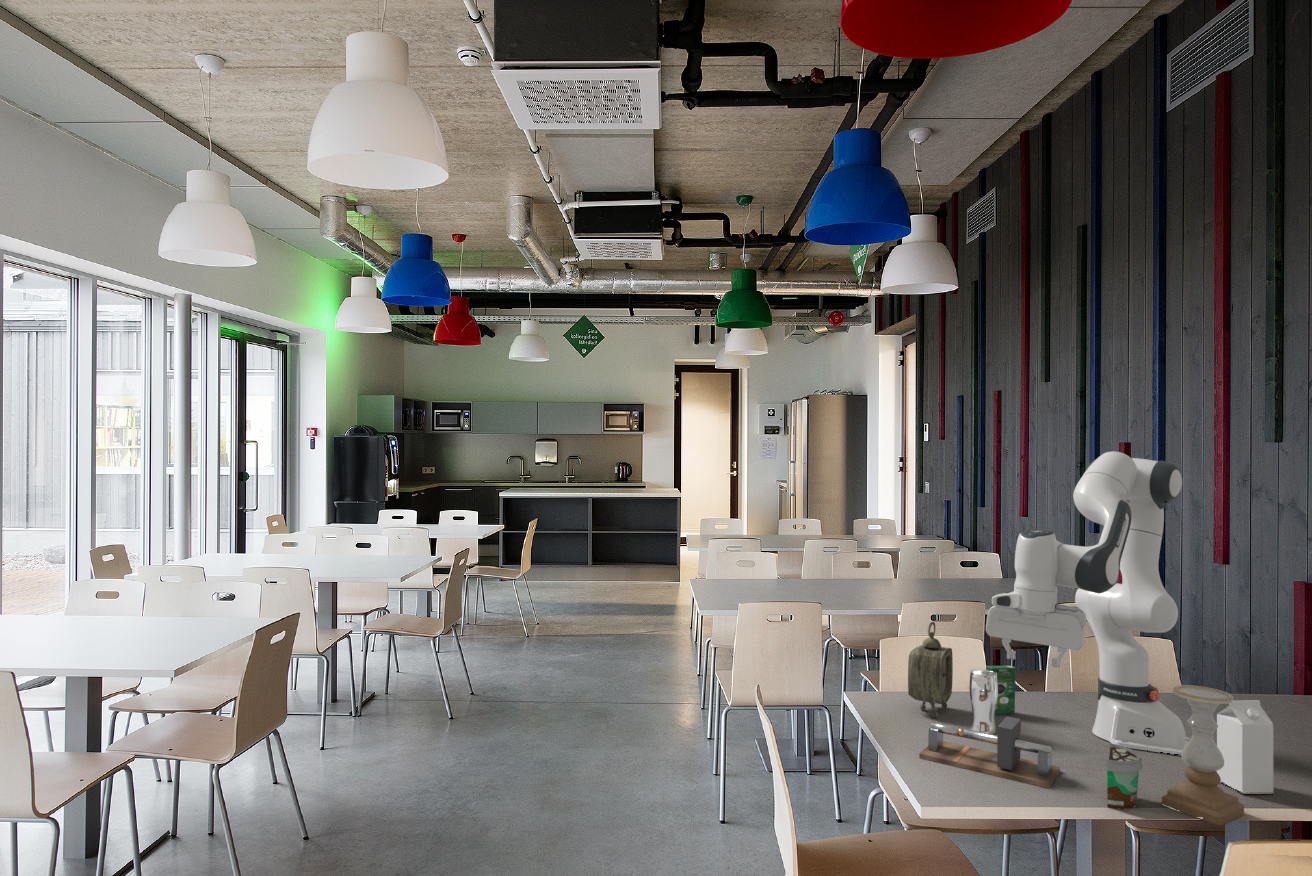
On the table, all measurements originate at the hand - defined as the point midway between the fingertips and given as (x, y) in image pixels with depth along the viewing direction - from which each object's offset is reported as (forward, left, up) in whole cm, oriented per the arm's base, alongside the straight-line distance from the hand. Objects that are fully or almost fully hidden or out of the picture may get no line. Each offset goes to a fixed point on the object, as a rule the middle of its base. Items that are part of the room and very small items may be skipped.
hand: (1033, 662), depth 181 cm
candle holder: (-32, -2, -25) cm, 40 cm away
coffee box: (+16, -42, -25) cm, 51 cm away
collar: (+5, 0, -23) cm, 24 cm away
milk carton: (-39, -21, -25) cm, 51 cm away
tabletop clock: (+32, -31, -25) cm, 51 cm away
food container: (-19, +4, -25) cm, 32 cm away
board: (+9, 0, -25) cm, 27 cm away
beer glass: (+16, -24, -25) cm, 38 cm away
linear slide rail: (+9, 0, -25) cm, 27 cm away
